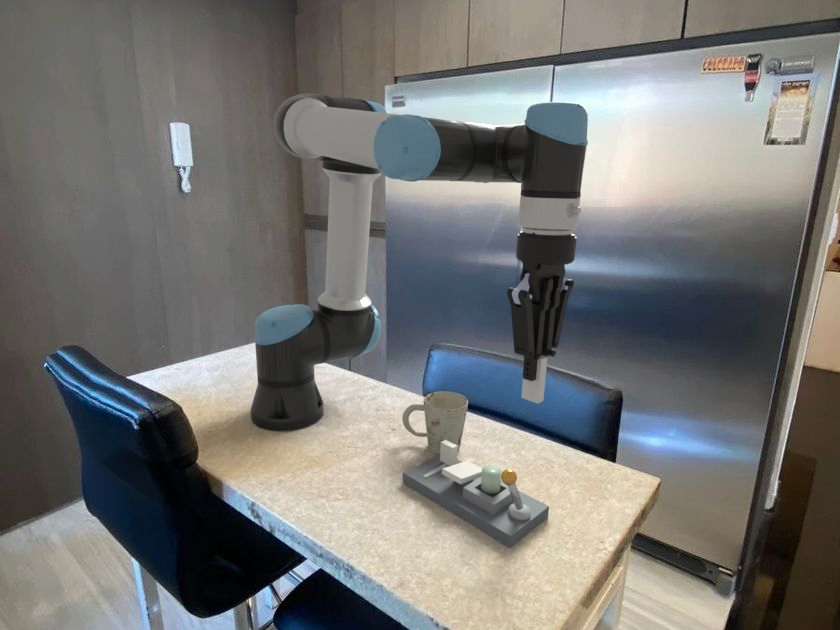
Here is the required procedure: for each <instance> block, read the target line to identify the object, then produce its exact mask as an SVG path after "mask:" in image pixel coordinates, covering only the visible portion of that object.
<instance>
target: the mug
mask: <svg viewBox="0 0 840 630" xmlns="http://www.w3.org/2000/svg"><path fill="white" fill-rule="evenodd" d="M468 405H469V400H468V398H467V397H466V396H464V395H463V394H461V393H458V392H454V391H447V390H446V391H434V392H431V393H428V394H427V395H425V396H424V398H423V404H421V403H420V404H419V403H412V404H410V405H409V406H407V407H406V408H405V409H404V411H403V413H402V419H401V421H402V425H403V426H404V428H405V429H406V430H407V431H408V432H409V433H410V434H411V435H413V436H415V437H420V438H421V437H422V438H426V439H427V448H428V450H429V451H430V452H431V453H432V454H435V455H438V454H440V447H441V442H442V441H444V440H447V441H449V442H451V443H453V444H455V445H457V453H459V451H460V448H461V444H462V439H463V433H464V427H465V423H466V419H467V418H466V417H467V413H468V412H467V411H468V407H469V406H468ZM414 411H419V412H424V419H425V428H426V429H425V430H426V432H423V431H417V430H415V429H414V428H413V427H412V425H411V424H410V421H409V418H410V416H411V414H412V413H413V412H414Z"/></svg>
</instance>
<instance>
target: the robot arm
mask: <svg viewBox="0 0 840 630" xmlns="http://www.w3.org/2000/svg"><path fill="white" fill-rule="evenodd" d="M523 121H524V123H519V124H507V125H506V124H505V125H498V124H497V125H495V124H494V125H492V124H485V123H478V122H477V123H476V122H468V121H458V120H456V121H455V120H447V119H440V118H435V117H434V118H433V117H426V116H420V115H414V114H408V113H407V114H395V113H389V110H387V109H386V107H385V106H384V105H382V104H380V103H378V102H375V101H371V100H366V99H363V98H352V97H351V98H350V97H344V96H343V97H342V96H335V95H326V94H325V95H324V94H319V93H314V92H313V93H311V92H309V93H301V94H299V93H298V94H295V95H294V96H291V97H289V98H287V99H286V100H284V101H283V102H282V103H281V105H279V106H278V108H277V110H276V112H275V114H274V119H273V131H274V136H276V140H277V142H278V143H279V144H280V146H281V147H282V148H283V149H284V150H285V151H287V153H289V154H291V155H293V156H294V157H297V158H300V159H305V160H309V161H319V162H322V170H323V173H325V174H326V176H328V178H329V189H328V190H329V193H328V214H327V215H328V217H327V218H328V219H327V239H326V241H327V245H326V265H325V267H326V269H325V270H326V271H325V286H324V287H325V289H324V291H323V292H322V293H321V294H320V295H319V296H318V298H317V309H312V307H311V306H309V305H306V304H303V303H302V304H301V303H295V304H284V305H280V306H279V305H278V306H276V307H272V308H270V309H267V310H265V311H262V313H260V314H259V315H258V316H257V318H256V319H255V322H254V336H253V337H254V338H253V340H254V343H255V344H254V345H255V358H256V374H257V386H256V389H255V393H254V396H253V400H252V402H251V403H252V404H251V407H250V419H251V422H252V423H253V425H255V427H258V428H260V429H263V430H268V431H271V432H272V431H275V432H287V431H295V430H301V429H305V428H308V427H310V426H313V425H314V424H316V423H318V422H319V421H320V420H321V419H322V418H323V416H324V413H325V412H324V407H325V406H324V401H323V398H322V396H321V393H320V391H319V387H318V385H317V383H316V379H315V366H316V365H321V364H325V363H330V362H335V361H339V360H345V359H349V358H351V359H352V358H353V359H354V358H358V357H360V356H361V355H365V354H367V353H369V352H371V351H372V350H373V349H374V348H375V347H376V346H377V344H378V342H379V339H380V335H381V327H382V325H381V324H382V323H381V320H380V319H379V316H380V315H379V312H378V309H377V308H376V307H375V306H374V305H373V304H372V300H371V298H370V297H369V296H368V295H367V294H366V286H367V274H368V273H367V272H368V271H367V270H368V257H369V256H368V255H369V244H370V243H369V241H370V231H371V230H370V228H371V211H372V201H373V200H372V199H373V198H372V197H373V184H374V181H376V180H377V179H378V178H379V177H380V176H381V175H383V176H385V177H387V178H389V179H392V180H398V181H402V182H403V181H405V182H409V183H410V182H419V181H426V182H427V181H435V182H436V181H437V182H438V181H442V182H443V181H444V182H445V181H447V182H466V183H467V182H469V183H470V182H472V183H483V184H489V183H517V184H520V197H519V210H518V218H517V226H518V228H520V229H521V231H519V232H518V234H517V238H516V248H515V249H516V250H515V256H516V259H517V260H518V261H519V262H520V261H521V262H522V268H521V269H522V270H521V272H520V275H519V281H520V282H519V284H518V285H517V286H516V287H515V288H514V287H509V288H508V289H507V291H506V296H507V298H508V301H509V304H510V311H511V312H510V313H511V325H512V327H511V328H512V337H513V338H512V339H513V340H512V341H513V350H514V351H513V352H514V354H516V355H519V356H523V367H522V368H523V369H522V386H521V399H523V400H526V401H529V402H532V403H535V404H539V403H542V402H543V401H544V398H545V397H544V396H545V388H546V378H547V367H548V357H553V358H554V357H555V356H556V354H557V351H555V350H552V349H553V348H554V349H557V348H558V346H559V345H560V344H559V343H560V338H561V334H562V330H563V326H564V320H565V316H566V311H567V307H568V301H569V298H570V295H571V293H572V290H573V287H574V284H575V281H574V280H573V279H569V278H567V277H566V267H565V266H566V265H569V264H572V263H573V262H574V261H575V259H576V250H577V249H576V248H577V238H578V237H577V236H576V234H575V233H573V231H575V230H577V229H578V224H579V215H580V214H581V212H582V207H580V206H581V205H580V204H581V197H582V196H581V195H582V194H581V193H582V192H581V191H582V182H583V174H584V167H585V160H586V154H587V153H586V152H587V146H588V144H589V141H588V126H589V124H588V123H589V113H588V110H587V107H585V106H584V105H582V104H580V103H576V102H568V101H546V102H545V101H543V102H537V103H535V104H532V105H530V106H529V107H528V108H527V111H526V116H525V119H524V120H523Z"/></svg>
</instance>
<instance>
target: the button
mask: <svg viewBox="0 0 840 630" xmlns="http://www.w3.org/2000/svg"><path fill="white" fill-rule="evenodd" d="M481 468H482V477H481V489H482V490H483V491H484V492H486V493H490V494H494V493H498V492H499V491H500V487H501V480H502V479H501V474H502V472H503V471H502V469H501V468H500V467H499V466H495V465H485V466H484V467H481Z"/></svg>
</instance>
